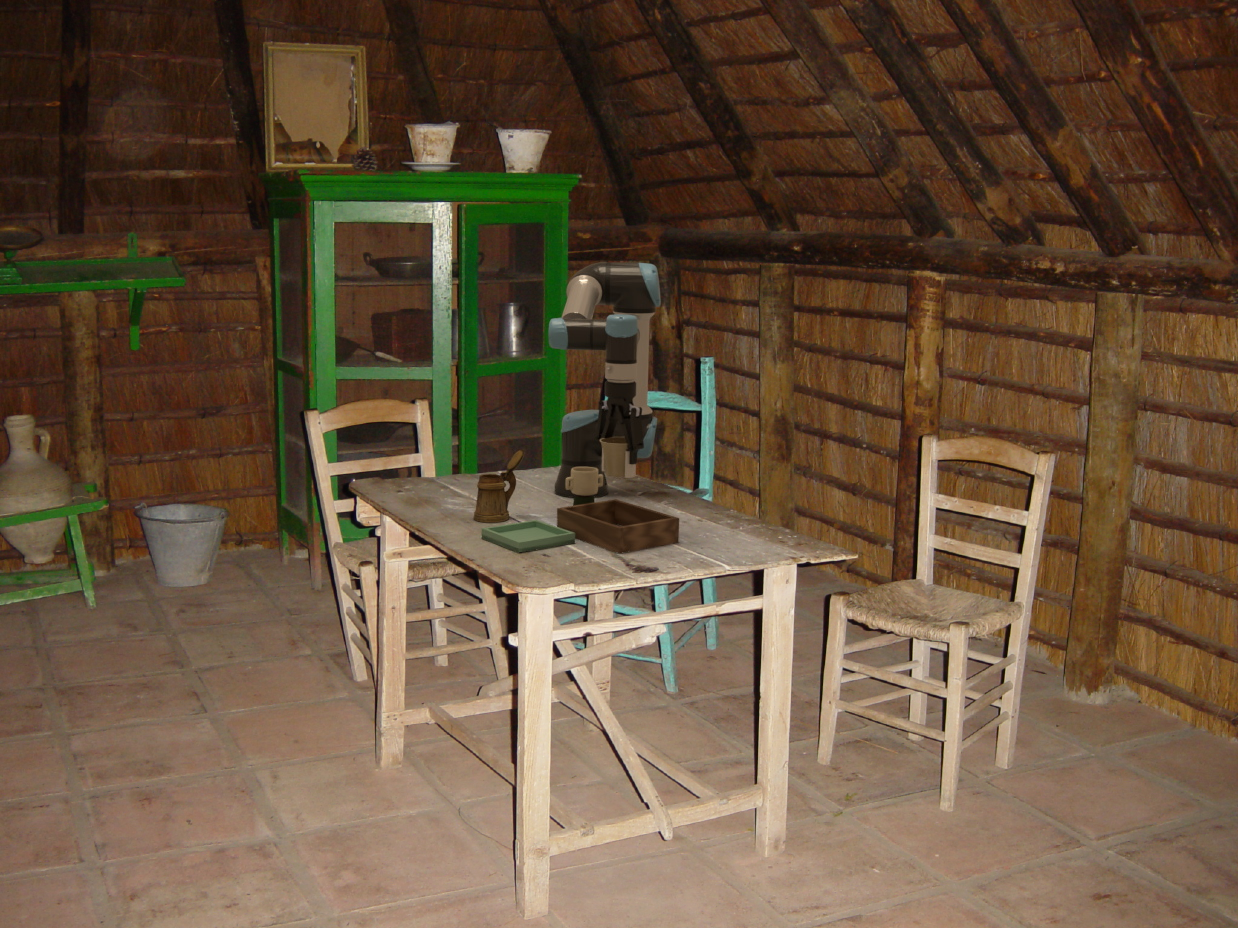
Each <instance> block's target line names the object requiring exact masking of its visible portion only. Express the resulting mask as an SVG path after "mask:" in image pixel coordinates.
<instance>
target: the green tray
mask: <svg viewBox="0 0 1238 928" xmlns="http://www.w3.org/2000/svg"><path fill="white" fill-rule="evenodd" d="M481 539H482V540H485V541H488V542H490V543H492V544H495V545H498V546H500V547H503V548H504V549H507V548H508V550H510V551H513V552H515V551H516V552H515V553H518V552H522V553H526V551H528V552H532V551H533V550H534V551H537V550H536V549H539V550H544V548H545V549H550V547H551V548H555V547H554V546H556V547H560V545H562V546H567V545H572V544H576V538H575V533H574V532H571V531H568V530H565V529H562V528H559V527H557V525H553V524H551V523H547V522H544V521H542V520H539V519H533V520H526V521H521V522H519V521H518V522H514V523H507V524H501V525H494V526H493V525H492V526H488V527H481Z"/></svg>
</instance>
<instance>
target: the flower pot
mask: <svg viewBox="0 0 1238 928" xmlns="http://www.w3.org/2000/svg"><path fill="white" fill-rule="evenodd" d="M600 442H601V445H602V448H603V453H604V460H605V468H606V471H605V476H607V477H613V478H617V479H618V478H625V451H626V449H628V447H627V445H628V444H627V443H626V439H625V437H610V438H602V439H600ZM632 445H633V444H632Z"/></svg>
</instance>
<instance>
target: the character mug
mask: <svg viewBox="0 0 1238 928" xmlns="http://www.w3.org/2000/svg"><path fill="white" fill-rule="evenodd" d="M598 478H600V480H599V483H598ZM569 481H570V486H569ZM601 486H603V475H602V474H598V469H597V468H594V467H574V468H572V469H571V477H567V478H566V486H565V487H566V490H571V492H572V493H573V494H576V496H575V498H574V497H573V503H572V506H575V505H582V504H588V503H595V497H593V496H592V495H594V494H597V492H598V487H601Z"/></svg>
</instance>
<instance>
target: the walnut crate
mask: <svg viewBox="0 0 1238 928" xmlns="http://www.w3.org/2000/svg"><path fill="white" fill-rule="evenodd" d="M556 517H557V518H556V527H559V528H562V529H565V530H568V531H571V532H574V533H575V540H578V541H579V540H580V541H582V542H585V543H588V544H590V545H593V546H596V547H598V546H599V547H598V548H601V549H604V548H605V549H604V550H607V549H609V550H608V551H611V552H613V551H614V552H613V553H616V552H618V553H620V554H623V553H622V552H625V553H629V552H628V551H630V552H634V551H640V550H639V549H641V550H645V548H646V549H650V548H656V547H655V546H657V547H661V545H662V546H666V545H672V544H671V543H673V544H676V543H679V540H680V539H679V537H680V517H678V516H674V515H669V514H667V513H663V512H661V511H656V510H653V509H651V508H647V507H643V506H641V505H640V506H639V505H636V504H633V503H630V502H626V501H623V500H619V499H609V500H602V501H596V502H595V503H588V504H582V505H575V506H573V505H571V506H570V505H569V506H564V507H557V509H556ZM618 553H617V554H618Z"/></svg>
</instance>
